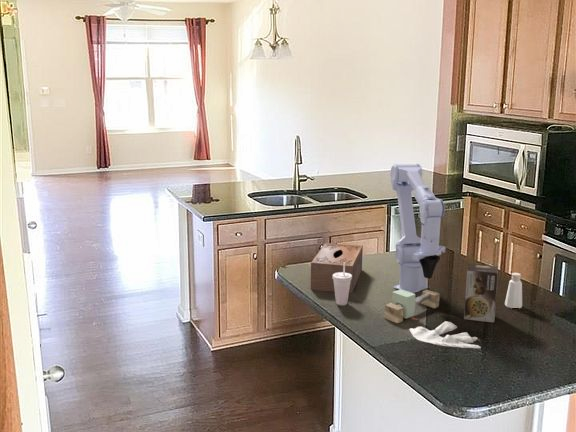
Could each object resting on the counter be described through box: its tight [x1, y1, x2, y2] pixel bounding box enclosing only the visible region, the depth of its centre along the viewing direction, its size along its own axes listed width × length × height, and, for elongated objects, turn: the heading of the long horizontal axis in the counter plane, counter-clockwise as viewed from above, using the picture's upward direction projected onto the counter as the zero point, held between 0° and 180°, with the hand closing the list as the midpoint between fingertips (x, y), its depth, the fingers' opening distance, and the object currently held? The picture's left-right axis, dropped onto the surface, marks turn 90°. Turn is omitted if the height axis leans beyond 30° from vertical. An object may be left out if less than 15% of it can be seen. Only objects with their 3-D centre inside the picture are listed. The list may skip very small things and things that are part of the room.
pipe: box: [389, 293, 431, 314], centre depth 192 cm, size 21×2×2 cm, turn 131°
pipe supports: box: [384, 289, 440, 324], centre depth 192 cm, size 21×10×4 cm, turn 131°
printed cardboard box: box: [463, 263, 499, 324], centre depth 187 cm, size 9×6×16 cm
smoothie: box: [332, 262, 352, 306], centre depth 198 cm, size 6×6×14 cm
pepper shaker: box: [504, 272, 523, 309], centre depth 197 cm, size 5×5×11 cm
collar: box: [391, 289, 416, 319], centre depth 188 cm, size 4×6×7 cm
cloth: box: [409, 320, 482, 349], centre depth 176 cm, size 20×22×2 cm
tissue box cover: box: [310, 242, 364, 294], centre depth 222 cm, size 26×14×10 cm, turn 165°
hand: (427, 277), depth 196 cm, fingers closed
